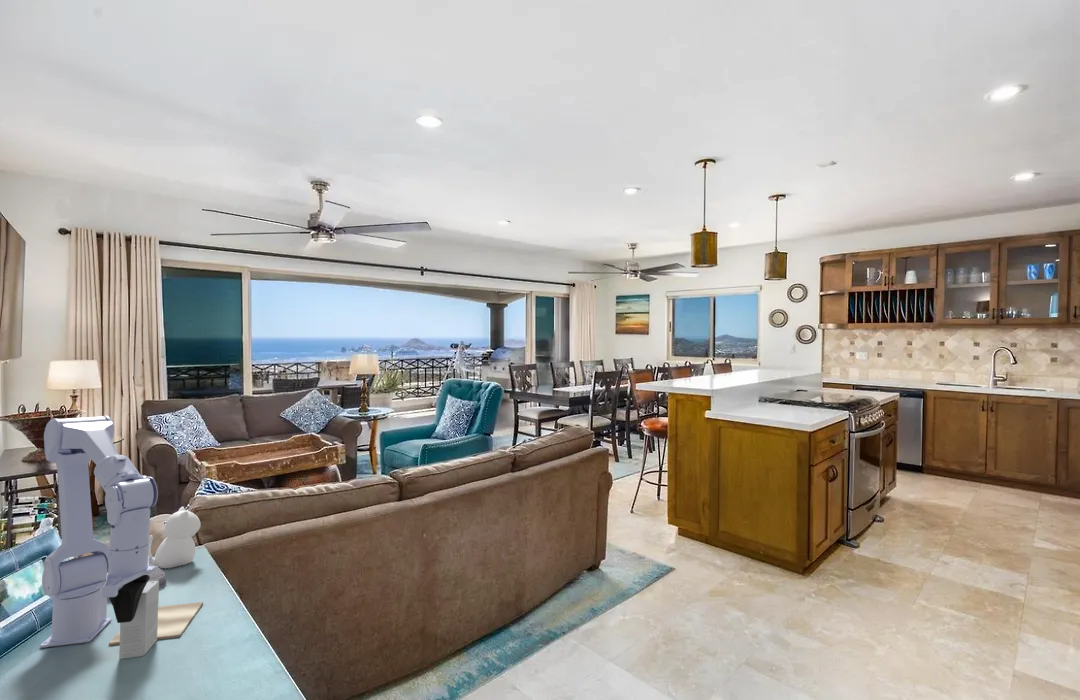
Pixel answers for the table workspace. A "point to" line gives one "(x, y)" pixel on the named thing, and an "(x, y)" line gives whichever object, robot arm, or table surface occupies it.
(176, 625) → the birch board
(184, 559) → the cat figurine
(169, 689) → the table surface
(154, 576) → the stone block
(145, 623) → the skincare box
